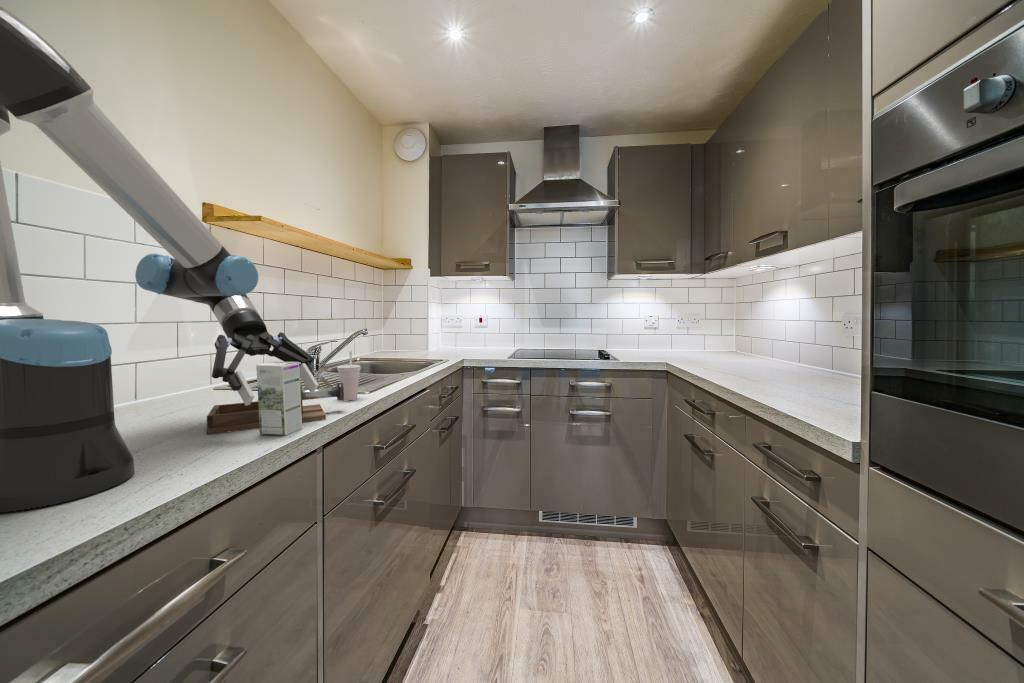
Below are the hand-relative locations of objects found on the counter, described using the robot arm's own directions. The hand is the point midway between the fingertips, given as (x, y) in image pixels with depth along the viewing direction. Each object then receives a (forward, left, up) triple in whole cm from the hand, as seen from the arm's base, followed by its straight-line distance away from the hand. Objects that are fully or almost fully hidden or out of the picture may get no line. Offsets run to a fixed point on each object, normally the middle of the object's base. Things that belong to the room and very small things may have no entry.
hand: (284, 394), depth 82 cm
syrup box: (0, +1, -8) cm, 8 cm away
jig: (+13, +3, -8) cm, 15 cm away
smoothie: (+27, -17, -8) cm, 33 cm away
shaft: (+13, -6, -5) cm, 15 cm away
